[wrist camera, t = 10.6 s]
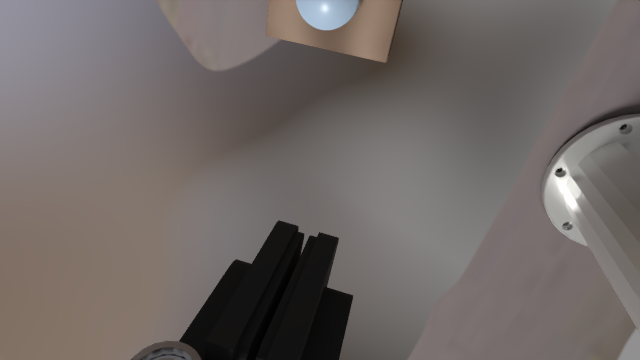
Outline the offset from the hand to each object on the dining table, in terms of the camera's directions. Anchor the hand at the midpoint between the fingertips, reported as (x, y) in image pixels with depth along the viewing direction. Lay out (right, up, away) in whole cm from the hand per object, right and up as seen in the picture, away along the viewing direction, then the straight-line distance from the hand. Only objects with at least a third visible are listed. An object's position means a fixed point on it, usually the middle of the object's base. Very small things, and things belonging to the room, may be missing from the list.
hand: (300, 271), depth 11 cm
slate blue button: (+1, +16, +18) cm, 24 cm away
